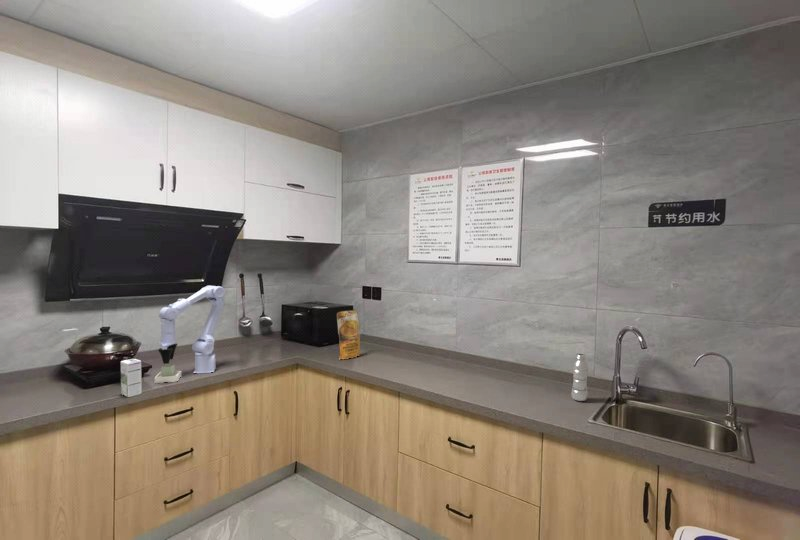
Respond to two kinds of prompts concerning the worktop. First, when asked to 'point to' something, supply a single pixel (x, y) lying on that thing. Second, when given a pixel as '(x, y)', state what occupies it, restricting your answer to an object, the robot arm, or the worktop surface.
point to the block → (168, 370)
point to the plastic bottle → (580, 378)
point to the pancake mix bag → (348, 334)
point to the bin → (167, 377)
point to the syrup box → (131, 377)
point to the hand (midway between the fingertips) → (168, 361)
